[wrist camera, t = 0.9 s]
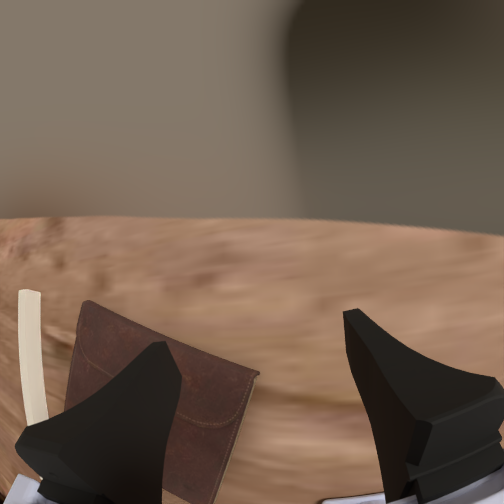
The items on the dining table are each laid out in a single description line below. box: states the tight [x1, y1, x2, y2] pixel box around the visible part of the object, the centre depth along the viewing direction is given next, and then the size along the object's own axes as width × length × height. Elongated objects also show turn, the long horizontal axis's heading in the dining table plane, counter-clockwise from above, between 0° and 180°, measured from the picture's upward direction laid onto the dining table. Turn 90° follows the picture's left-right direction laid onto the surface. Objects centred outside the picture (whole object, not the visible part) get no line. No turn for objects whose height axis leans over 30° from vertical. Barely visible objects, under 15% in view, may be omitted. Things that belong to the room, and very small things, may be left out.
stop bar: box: [18, 289, 49, 480], centre depth 29 cm, size 26×2×3 cm, turn 6°
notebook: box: [64, 300, 260, 504], centre depth 25 cm, size 15×20×2 cm
